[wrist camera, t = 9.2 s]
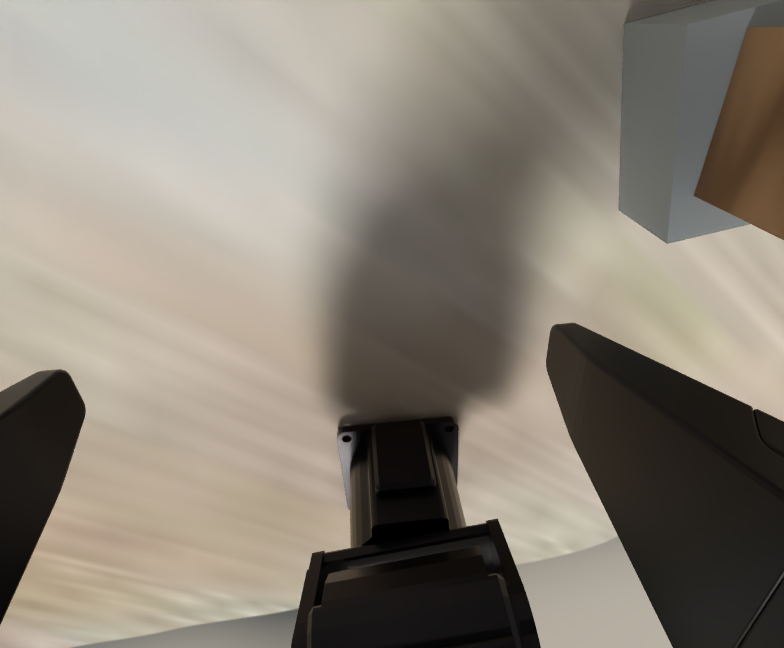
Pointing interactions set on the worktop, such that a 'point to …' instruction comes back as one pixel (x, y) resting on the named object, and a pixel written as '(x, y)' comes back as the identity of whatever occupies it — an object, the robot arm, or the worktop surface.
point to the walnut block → (751, 137)
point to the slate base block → (679, 110)
